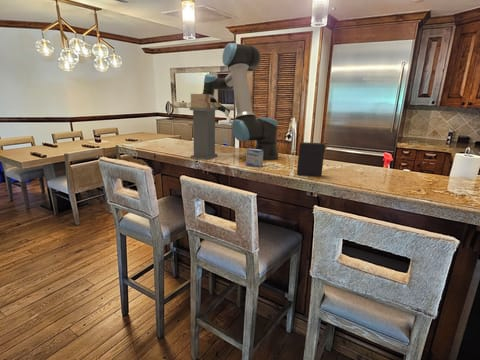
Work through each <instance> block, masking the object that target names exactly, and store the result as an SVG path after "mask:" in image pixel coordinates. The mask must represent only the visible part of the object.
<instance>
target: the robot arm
mask: <svg viewBox="0 0 480 360" xmlns="http://www.w3.org/2000/svg"><path fill="white" fill-rule="evenodd" d="M261 57H262V56H261V53H260V51H259V49H258V48H257V47H256V46H253V45H247V44H243V43H242V44H241V43H237V42H235V43H234V42H233V43H232V42H229V43H227V44H226V45H225V46H224V49H223V52H222V64H223V65H224V66H225V67H227V71H228V72H229V73H228V74H227V75H226V76H225V77H224V78H219V77H217V76H216V75H215V74H213V73H212V74H211V73H206V74H205V75H204V80H203V88H202V89H203V90H202V93H201V94H210V103H218V101H217V99H216V98H215V96H214V95H215V90H217V91H218V90H219V91H220V90H221V91H233V94H234V95H233V96H234V102H235V109H236V116H235V117H234V121H233V122H232V125H231V131H232V134H233V136H234V138H235V139H236V140H237V141H240V142H249V141H253V142H254V141H255V142H256V144H255V147H254V149H260V150H264V151H263V161H264V160H265V161H266V160H268V161H270V160H277V159H279V152H278V148H277V139H278V138H277V136H278V120H277V119H275V118H271V117H270V118H268V117H263V116H258V117H256V114H255V113H254V112H253V109H252V102H251V94H250V86H249V79H248V74H249V73H250V72H254V71H255V70H256V69H257V68H258V67H259V66H260V64H261V60H262V59H261ZM217 108H218V110H217V111H219V112H222V113H224V116H226V118H228V117H229V115H230V112H231V109H229V108H227V107H226V106H224V105H223V104H221V107H217Z"/></svg>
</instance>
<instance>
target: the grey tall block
mask: <svg viewBox="0 0 480 360" xmlns="http://www.w3.org/2000/svg"><path fill="white" fill-rule="evenodd" d="M189 111H192V120H193V122H192V123H193V124H192V125H193V126H192V127H193V129H192V130H193V131H192V134H193V154H192V155H191V156H190V158H191V159H197V160H199V159H200V160H204V161H205V160H207V161H208V160H212V159H214V158H216V157H218V153H216V111H219V110H218V108H217V107H210V108H194V107H191V106H190V107H189Z"/></svg>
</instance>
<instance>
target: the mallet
mask: <svg viewBox="0 0 480 360" xmlns="http://www.w3.org/2000/svg"><path fill="white" fill-rule="evenodd" d="M221 105H222V102H217V103H210V94H202V93H190V107H194V108H210V107H221Z"/></svg>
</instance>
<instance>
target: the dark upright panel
mask: <svg viewBox="0 0 480 360" xmlns="http://www.w3.org/2000/svg"><path fill="white" fill-rule="evenodd" d="M325 150H326V144H325V143H322V142H303V141H301V142H299V145H298V157H297V167H296V168H297V170H296V174H297V175H298V176H303V177H307V176H308V177H322V175H323V166H324V157H325Z"/></svg>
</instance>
